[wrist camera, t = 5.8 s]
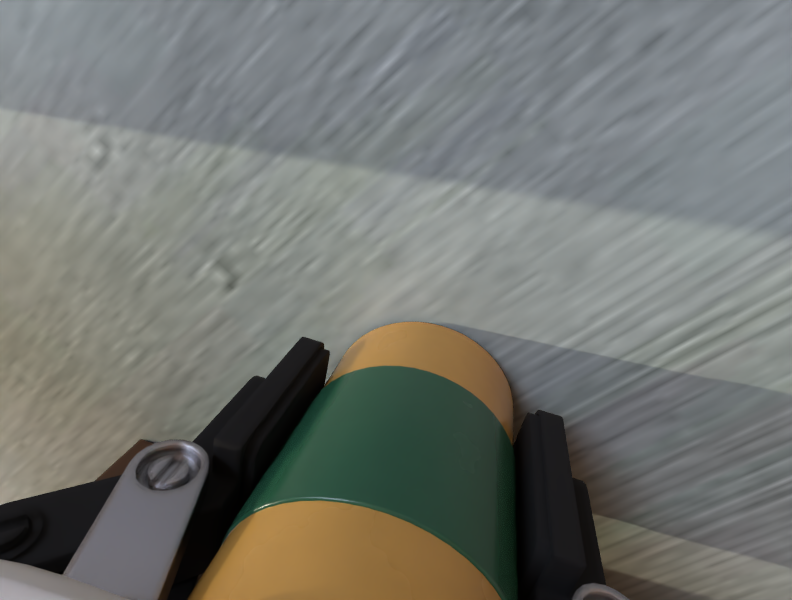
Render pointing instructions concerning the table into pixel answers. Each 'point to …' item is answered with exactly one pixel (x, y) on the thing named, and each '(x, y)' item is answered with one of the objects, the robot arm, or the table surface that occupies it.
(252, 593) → the tin
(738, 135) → the table surface
